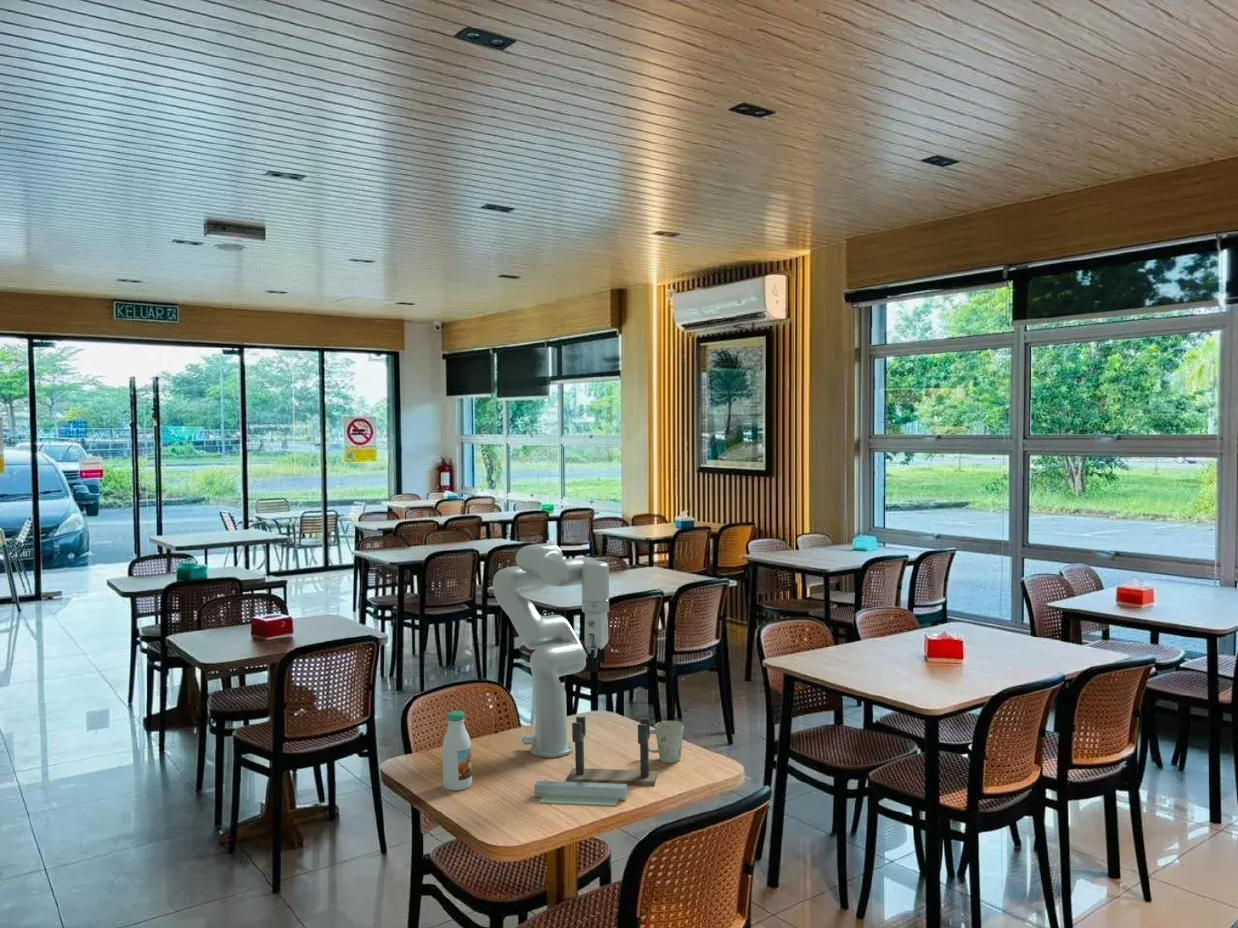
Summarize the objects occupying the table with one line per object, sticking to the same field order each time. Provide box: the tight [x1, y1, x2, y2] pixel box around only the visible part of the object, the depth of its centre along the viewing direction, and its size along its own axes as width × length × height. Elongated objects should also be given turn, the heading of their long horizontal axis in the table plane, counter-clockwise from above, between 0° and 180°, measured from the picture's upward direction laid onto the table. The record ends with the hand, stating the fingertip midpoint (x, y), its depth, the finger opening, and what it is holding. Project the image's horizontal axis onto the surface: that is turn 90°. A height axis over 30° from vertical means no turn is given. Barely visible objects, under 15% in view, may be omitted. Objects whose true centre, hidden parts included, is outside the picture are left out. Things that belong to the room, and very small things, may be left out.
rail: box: [533, 780, 628, 801], centre depth 238 cm, size 24×3×3 cm, turn 81°
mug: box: [648, 720, 685, 764], centre depth 266 cm, size 8×13×10 cm, turn 79°
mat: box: [538, 797, 619, 807], centre depth 238 cm, size 20×9×1 cm, turn 81°
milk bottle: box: [442, 710, 473, 792], centre depth 248 cm, size 8×8×20 cm
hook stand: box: [565, 716, 659, 787], centre depth 251 cm, size 24×8×16 cm, turn 81°
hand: (595, 666), depth 256 cm, fingers open, 9 cm apart
